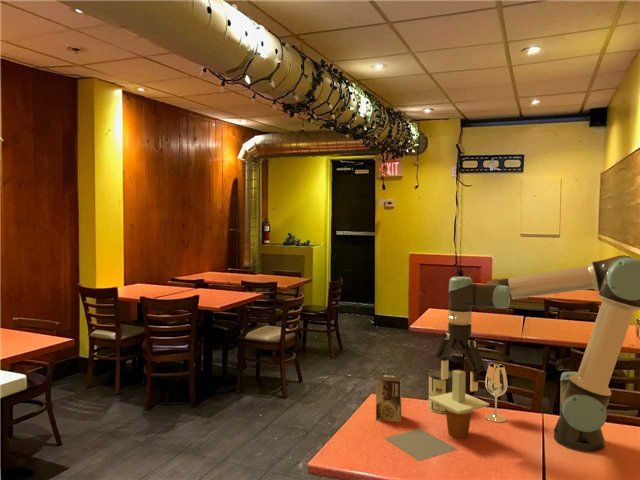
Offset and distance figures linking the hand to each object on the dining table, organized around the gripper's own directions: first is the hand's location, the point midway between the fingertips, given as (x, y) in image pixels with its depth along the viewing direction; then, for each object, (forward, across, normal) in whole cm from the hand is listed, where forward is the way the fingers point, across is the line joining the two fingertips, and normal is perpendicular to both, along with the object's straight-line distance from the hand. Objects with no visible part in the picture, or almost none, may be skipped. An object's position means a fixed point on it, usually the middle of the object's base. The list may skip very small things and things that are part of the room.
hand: (458, 384), depth 169 cm
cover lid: (+6, 0, 0) cm, 6 cm away
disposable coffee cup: (+18, 0, 0) cm, 18 cm away
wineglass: (+18, -5, +24) cm, 31 cm away
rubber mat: (+18, -1, -16) cm, 24 cm away
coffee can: (+18, -22, +13) cm, 31 cm away
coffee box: (+18, -23, -12) cm, 32 cm away
